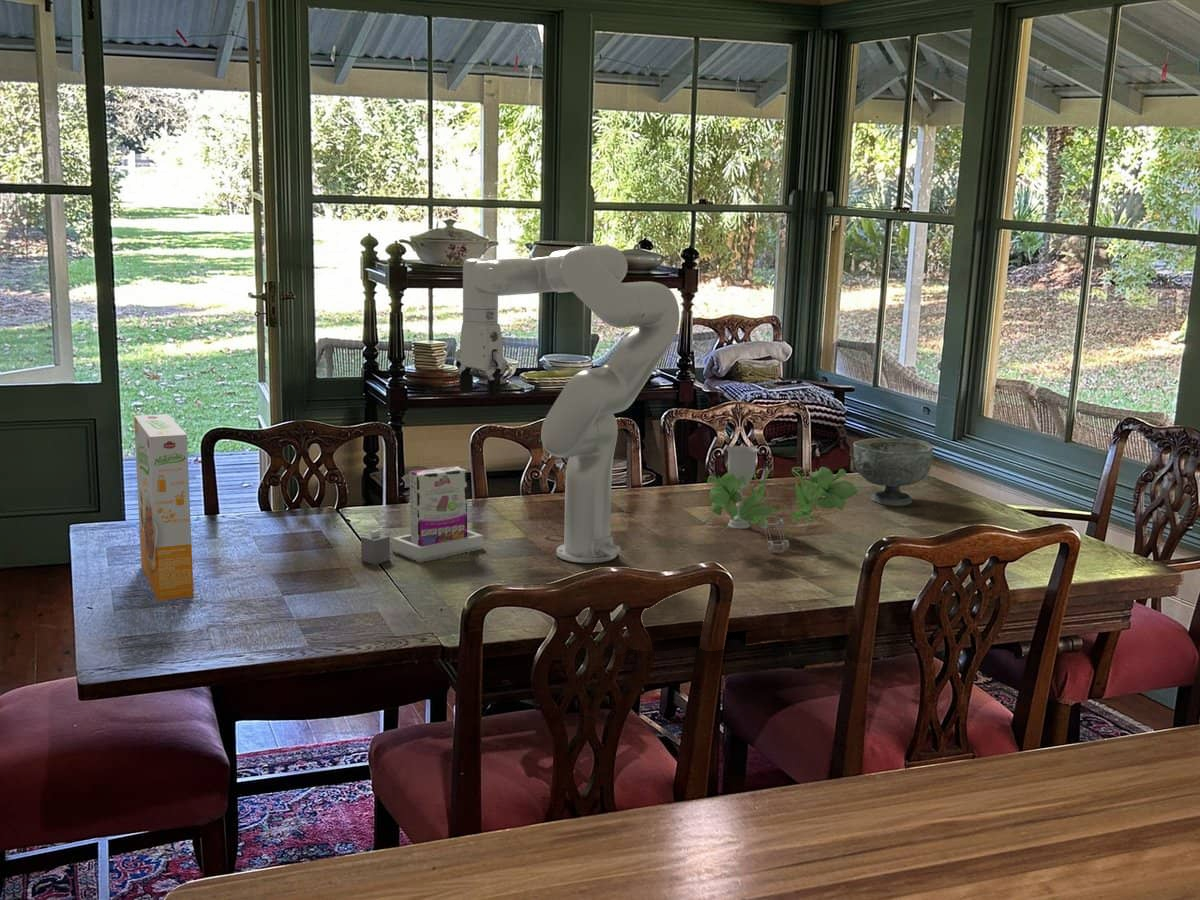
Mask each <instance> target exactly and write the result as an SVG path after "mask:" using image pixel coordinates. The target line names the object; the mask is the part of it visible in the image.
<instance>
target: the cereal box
mask: <svg viewBox="0 0 1200 900" xmlns="http://www.w3.org/2000/svg"><path fill="white" fill-rule="evenodd" d="M133 424H134V425H133V426H134V443H135V444H134V445H135V446H134V447H135V463H136V464H135V465H136V467H135V468H136V482H137V484H136V485H137V487H136V488H137V501H138V503H137V504H138V523H139V524H138V525H139V541H140V543H139V544H140V545H139V546H140V547H139V548H140V563H141V564H140V565H141V568H142V570H143V574H144V575H145V577H146V579H147V581H148V583H149V585H150V587H151V590H152V593H153V594H154V596H155V598H156V600H157V601H164V600H173V599H182V598H190V597H194V595H195V594H194V593H195V592H194V575H193V573H194V572H193V571H194V570H193V568H194V566H193V551H192V550H193V547H192V525H191V524H192V523H191V502H190V501H191V500H190V499H191V498H190V479H189V478H190V475H189V472H190V471H189V456H188V455H189V454H188V453H189V452H188V451H189V450H188V448H189V447H188V434H187V433H186V432H185V431H184V430H183V428H181V426H180V425H179V424H178V423H177V422H176V421H175V420H174V419H173V418H172V416H171V415H170V414H169V413H163V414H162V413H160V414H159V413H158V414H142V415H141V414H139V415H133Z"/></svg>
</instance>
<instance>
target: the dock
mask: <svg viewBox="0 0 1200 900" xmlns="http://www.w3.org/2000/svg"><path fill="white" fill-rule="evenodd" d="M391 545H392V546H391V551H393V552H392V553H394V552H395V554H397V553H398V554H397V555H399V554H401V555H400V556H402V555H404V556H406V557H405V558H407V557H408V558H407V559H409V558H411V559H410V560H412V559H413V560H412V561H414V560H416V561H415V562H417V561H418V562H417V563H420V562H421V563H425V562H424V561H426V562H429V561H430V560H431V561H434V560H439V558H440V559H445V558H448V557H447V556H449V557H453V556H452V555H454V556H458V555H462V554H461V553H463V554H466V553H465V552H467V553H472V552H476V551H479V550H483V549H484V535H483V534H480V533H478V532H475V531H471V530H468V529H467V537H465V538H460V539H455V540H450V541H445V542H441V543H436V544H431V545H426V546H419V545H416V544H413V543H411V533H410V534H404V535H401V536H399V535H398V536H395V537H392V538H391ZM471 551H472V552H471ZM457 554H458V555H457ZM404 556H403V557H404Z"/></svg>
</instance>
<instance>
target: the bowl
mask: <svg viewBox="0 0 1200 900" xmlns="http://www.w3.org/2000/svg"><path fill="white" fill-rule="evenodd" d="M852 444H853V459H854V460H853V462H854V464H855V465H854V466H855V468H856V470H857V473H858V474H859V475H861V477H862V478H863V479H865V480H866V481H867V482H868V483H871V484H873V485H875V486H885V488H884V490H879V491H875V492H874V493H872V495H871V497H870V499H871V500H872V501H873V502H875V503H877V504H881V505H885V506H892V507H893V506H894V507H895V506H898V507H900V506H908V505H911V504H912V503H913V499H912V497H911V495H910V494H907V493H906V492H903V491H901V490H900V487H903V486H910V485H911V486H912V485H914V484H917V483H919V482H921V481H923V480H924V479H925V478H926V477H927V476H928V474H929V473H930V471H931V469H932V468H931V467H932V463H933V457H934V452H933V448H934V447H933V444H932V443H929V441H926V440H922V439H915V438H906V437H904V438H903V437H887V438H886V437H885V438H884V437H877V438H867V439H861V440H857V441H855V442H853V443H852Z"/></svg>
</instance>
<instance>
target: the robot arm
mask: <svg viewBox="0 0 1200 900" xmlns="http://www.w3.org/2000/svg"><path fill="white" fill-rule="evenodd" d="M627 260H628V259H627V258H626V256H625V255H624V253H623V252H622V251H621V250H620V249H618V248H617V247H615V246H611V245H606V244H605V245H604V244H602V245H601V244H600V245H578V246H575V247H572V248H569V249H559V250H554V251H553V252H551V254H549V255H548V256H541V257H540V256H539V257H531V258H507V259H505V258H503V259H492V258H482V257H478V258H477V257H476V258H473V257H472V258H467V259H465V261H464V262H463V265H462V325H461V331H460V338H459V339H460V341H459V349H458V350H456V351H455V352H454V353H453V357H454V359H455V365H456V367H457V372H458V374H459V392H460V393H471V392H473V390H474V375H473V374H474V373H472V371H473V370H480V371H485V372H486V375H487V377H488V379H487V380H486V386H487V391H486V397H487V398H488V399H499V398H500V397H501V387H502V386H501V384H502V383H501V382H502V381H501V380H503V376H504V375H505V372H506V368H507V366H508V361H507V359H506V358H505V357H504V349H503V336H502V330H501V326H500V323H499V316H498V315H499V297H500V296H501V297H504V296H515V295H517V296H518V295H531V294H532V295H533V294H541V293H551V292H555V293H559V294H561V293H574V295H575V296H576V297H577V298H578V299H579V300H581V302H583V304H584V305H585V307H586V306H587V308H588V309H590V310H591V311H592V313H593V314H594V315H595V316H596V317H598V319H599V320H601V321H602V322H604V324H606V325H608V326H610V327H612V328H615V329H616V328H618V329H621V328H622V329H624V328H625V329H626V328H632V327H634V328H633V329H632V330H631V331H630V333H629V334H627V335H626V336H625V337H624V338H623V339H622V340H621V342H620V343H619V344H618V345H617V347H616V349H615V350H614V352H613V354H612V355H611V357H610V358H609V359H608V361H606V362H605V364H603V365H602V366H598V367H593V368H588V369H583V370H581V371H579V372H577V373H576V374H575V375H573V376H572V377H571V378H570V379H569V380H568V381H567V383H566V384H565V385H564V387H563V389H562V390H561V391H560V393H559V395H558V396H557V398H556V400H555V401H554V403H553V405H551V408H550V409H549V411H548V413H547V414H546V416H545V418H544V419H543V422H542V425H541V430H540V438H541V443H542V445H543V448H544V449H545V451H546V452H547V453H549V454H550V455H551V456H552V457H556V458H559V459H561V458H562V459H565V458H568V460H567V463H566V468H565V483H564V484H565V485H564V533H563V538H564V539H563V544H561V545H559V546H557V548H556V556H557V557H558V558H560V559H561V560H565V561H567V562H573V563H580V564H597V563H598V564H599V563H605V562H609V561H612V560H614V559H616V558H617V555H618V553H620V552H621V546H619V545H616V544H614V536H611V513H612V512H611V511H612V510H611V508H612V506H611V505H612V482H613V481H612V479H613V462H614V455H615V449H616V444H617V439H618V433H619V432H618V431H619V429H618V427H619V426H618V422H617V419H616V416H615V415H614V414H618V413H622V412H624V411H626V410H627V409H629V407H630V406H631V405H632V404H633V403H634V402H635V401H636V398H637V397H638V395H639V394H640V393H641V390H643V388H644V386H645V385H646V383H647V382H648V380H649V378H650V377H651V375H652V374H653V372H654V370H656V367H657V366H658V365H659V363H660V362H661V360H662V359H663V358H664V356H665V355H666V353H667V352H668V350H669V349H670V348H671V346H672V344H673V342H674V341H675V338H676V336H677V334H678V331H679V325H680V309H679V304H678V301H677V298H676V296H675V294H674V293H673V291H672V290H671V289H670V288H669V287H667V286H666V285H665V284H662V283H659V282H656V281H646V280H645V281H633V282H632V281H631V282H622V281H623V280H624V278H625V277H626V275H627V273H628V267H629V265H628V261H627Z"/></svg>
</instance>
